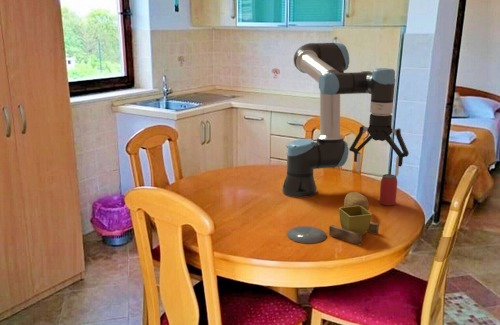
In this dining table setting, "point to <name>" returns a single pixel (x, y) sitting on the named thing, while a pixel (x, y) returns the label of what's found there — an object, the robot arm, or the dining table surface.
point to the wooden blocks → (351, 233)
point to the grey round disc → (306, 235)
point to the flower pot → (355, 219)
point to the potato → (356, 200)
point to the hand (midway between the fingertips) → (377, 172)
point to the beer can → (388, 190)
